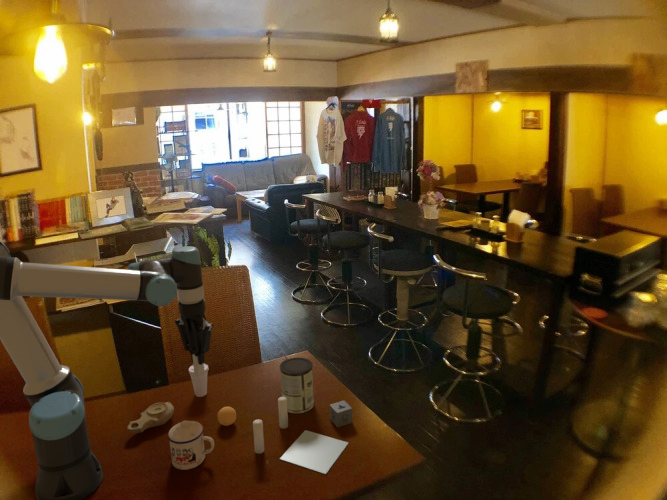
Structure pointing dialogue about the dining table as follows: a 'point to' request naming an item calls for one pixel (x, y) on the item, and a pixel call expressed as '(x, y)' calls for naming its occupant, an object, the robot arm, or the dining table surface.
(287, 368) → the coffee can
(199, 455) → the teacup with lid
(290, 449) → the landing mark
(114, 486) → the dining table surface
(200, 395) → the smoothie
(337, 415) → the dice cube
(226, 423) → the ball
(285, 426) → the post
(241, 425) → the dining table surface
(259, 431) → the post
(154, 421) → the oil lamp
